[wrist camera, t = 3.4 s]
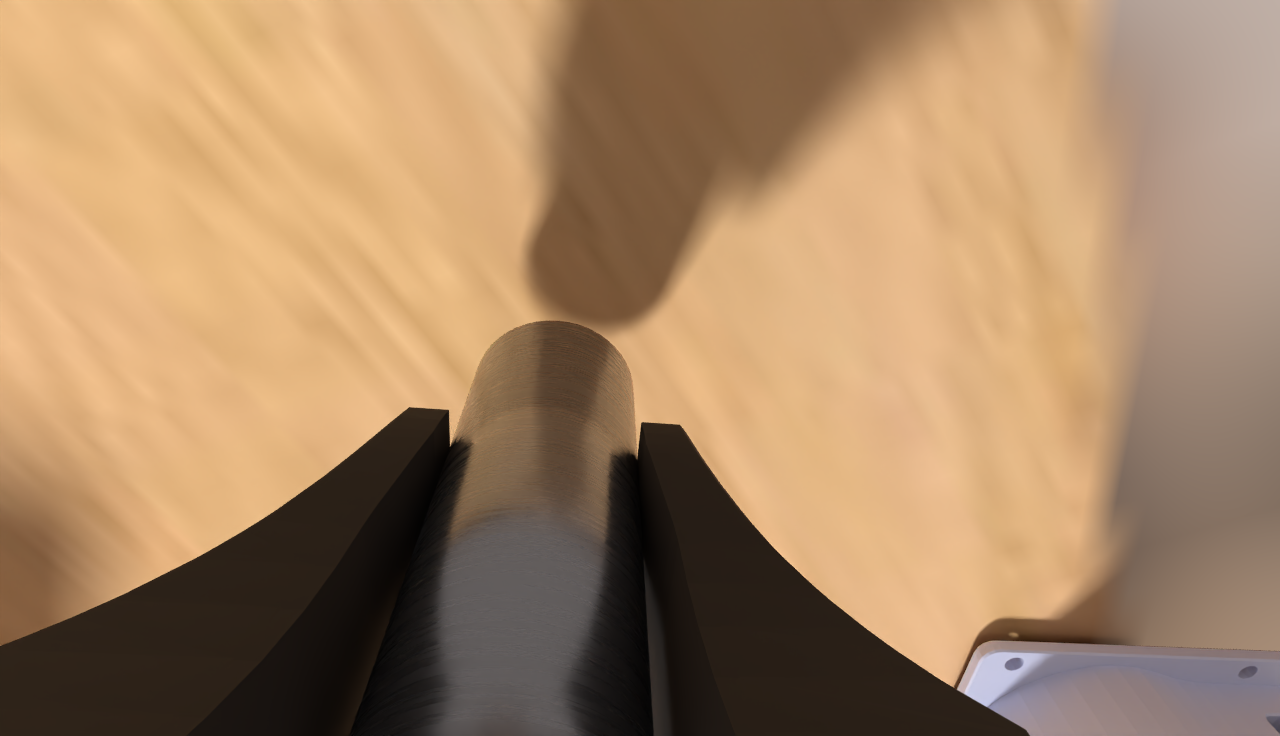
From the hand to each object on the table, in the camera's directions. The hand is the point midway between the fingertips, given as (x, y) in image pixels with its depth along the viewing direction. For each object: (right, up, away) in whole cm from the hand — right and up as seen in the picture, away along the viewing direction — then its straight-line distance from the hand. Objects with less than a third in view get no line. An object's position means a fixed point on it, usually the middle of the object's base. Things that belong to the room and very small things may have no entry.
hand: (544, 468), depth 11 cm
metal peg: (0, +1, +2) cm, 2 cm away
